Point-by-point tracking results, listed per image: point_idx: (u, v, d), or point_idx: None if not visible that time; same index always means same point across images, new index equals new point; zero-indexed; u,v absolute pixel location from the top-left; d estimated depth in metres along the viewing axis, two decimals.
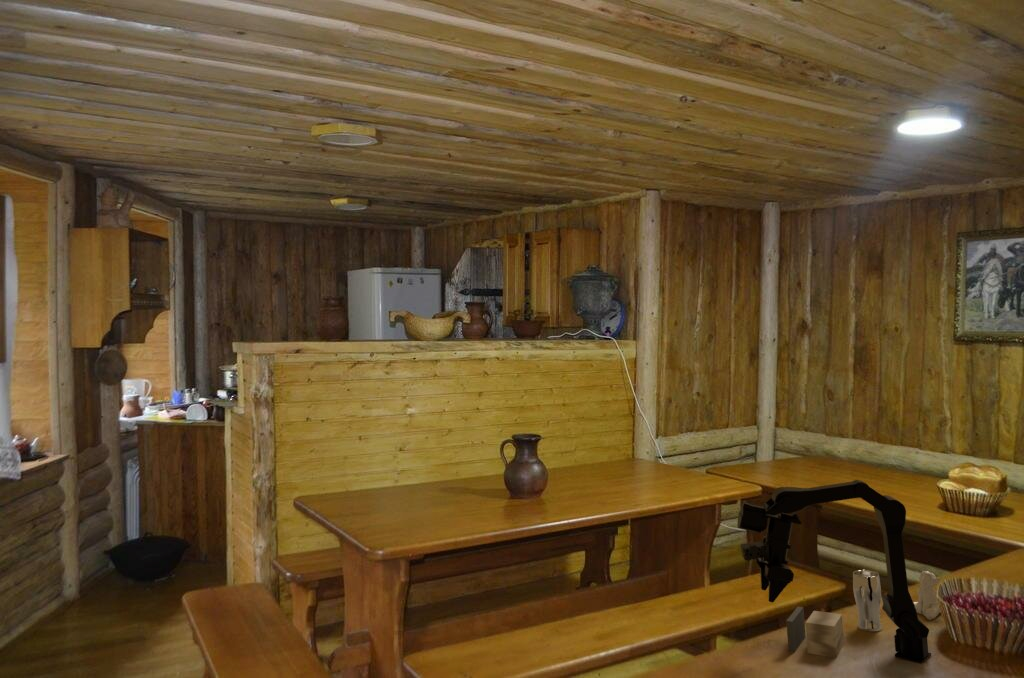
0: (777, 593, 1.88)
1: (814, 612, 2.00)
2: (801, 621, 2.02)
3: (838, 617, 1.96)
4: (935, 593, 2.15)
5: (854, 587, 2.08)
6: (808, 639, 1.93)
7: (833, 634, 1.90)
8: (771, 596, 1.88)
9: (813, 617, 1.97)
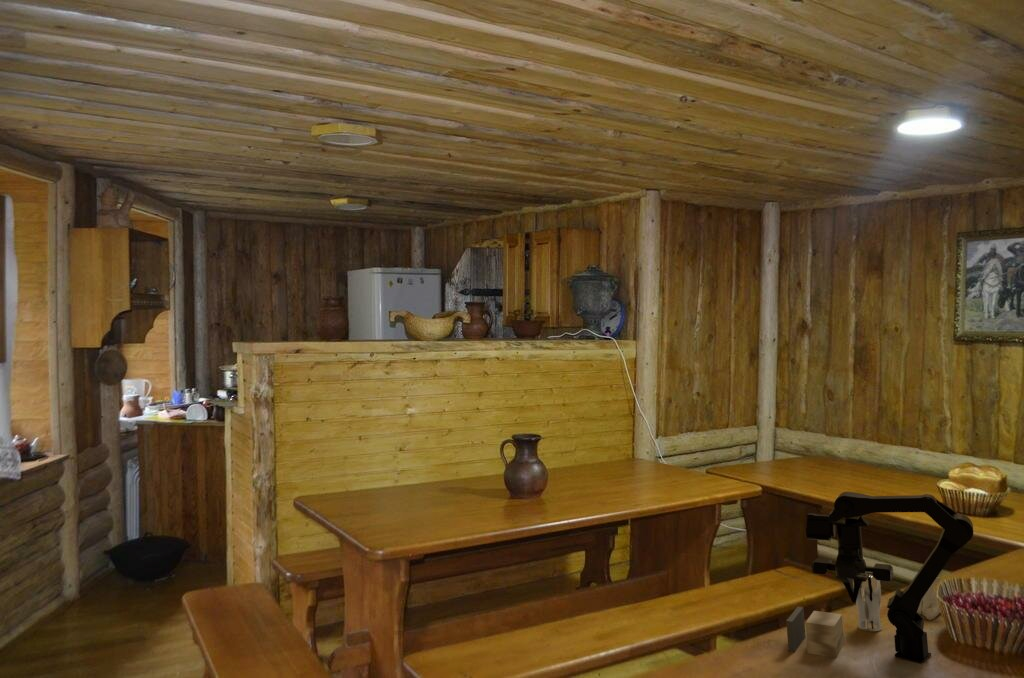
0: None
1: (814, 612, 2.00)
2: (801, 621, 2.02)
3: (838, 617, 1.96)
4: (935, 593, 2.15)
5: None
6: (808, 639, 1.93)
7: (833, 634, 1.90)
8: (857, 597, 1.94)
9: (813, 617, 1.97)
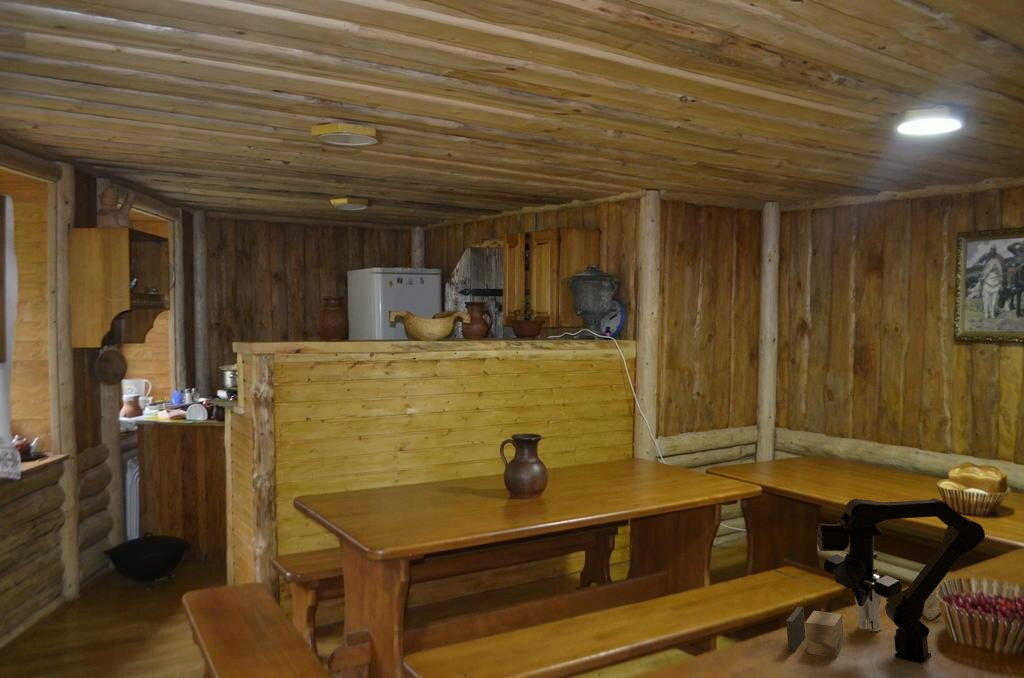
0: (867, 596, 1.92)
1: (814, 612, 2.00)
2: (801, 621, 2.02)
3: (838, 617, 1.96)
4: (935, 593, 2.15)
5: None
6: (808, 639, 1.93)
7: (833, 634, 1.90)
8: (863, 602, 1.92)
9: (813, 617, 1.97)
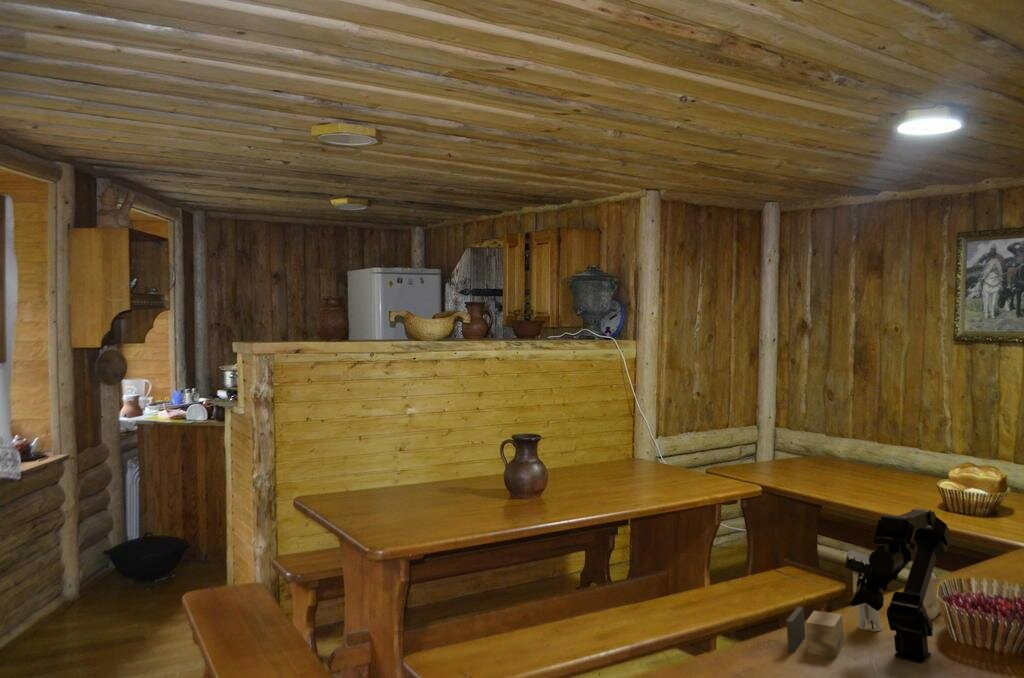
0: (861, 602, 1.90)
1: (814, 612, 2.00)
2: (801, 621, 2.02)
3: (838, 617, 1.96)
4: (935, 593, 2.15)
5: (854, 587, 2.08)
6: (808, 639, 1.93)
7: (833, 634, 1.90)
8: (854, 601, 1.91)
9: (813, 617, 1.97)
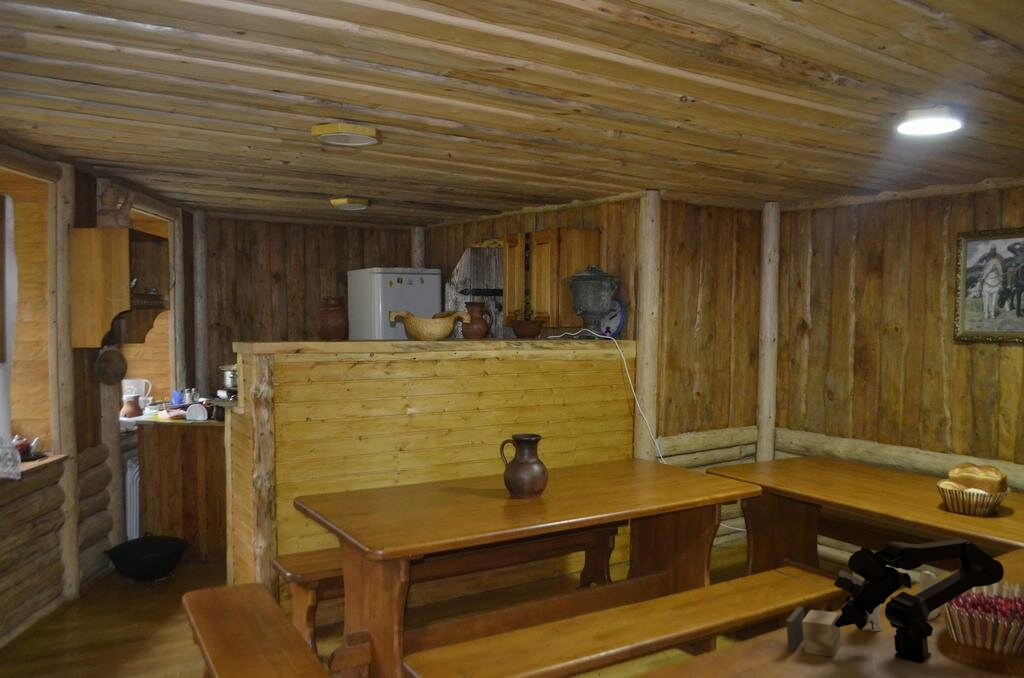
0: (845, 623, 1.91)
1: (811, 611, 2.01)
2: (801, 621, 2.02)
3: (834, 616, 1.96)
4: None
5: None
6: (805, 638, 1.94)
7: (830, 632, 1.90)
8: (838, 622, 1.92)
9: (810, 616, 1.97)
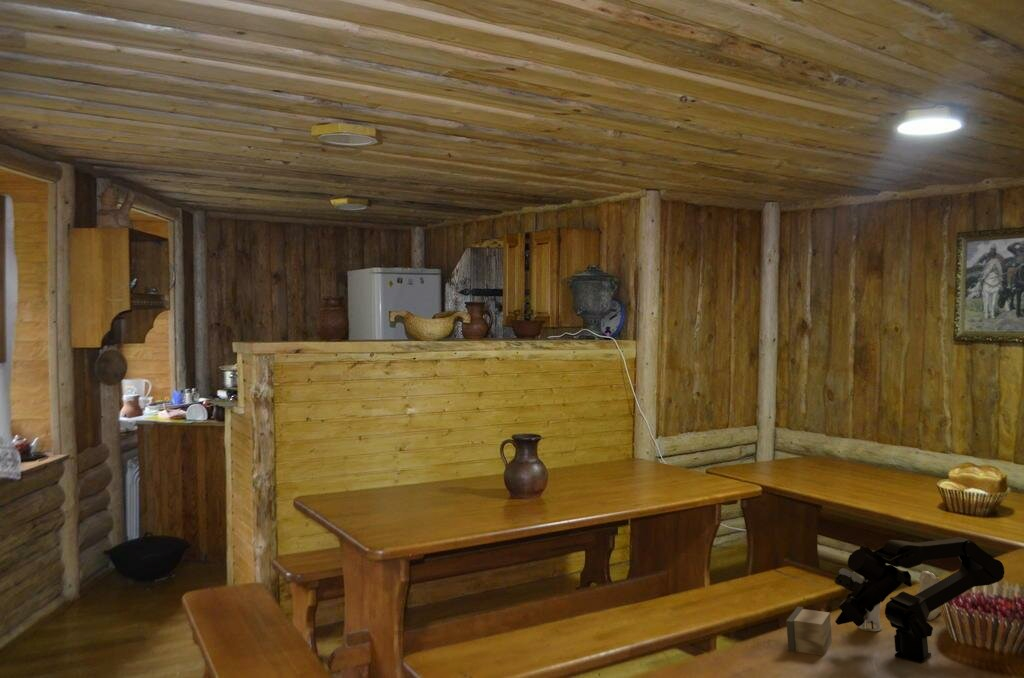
0: (845, 620, 1.92)
1: (802, 610, 2.02)
2: None
3: (826, 615, 1.97)
4: None
5: None
6: (796, 637, 1.95)
7: (821, 632, 1.92)
8: (839, 619, 1.93)
9: (801, 615, 1.98)
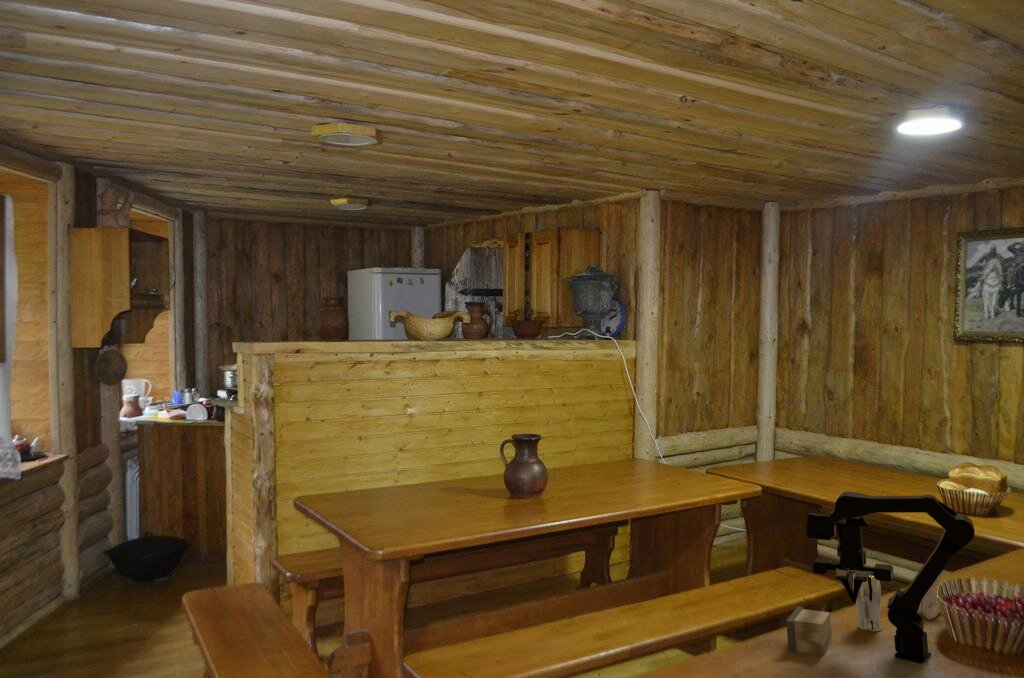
0: None
1: (803, 610, 2.02)
2: None
3: (826, 615, 1.97)
4: (935, 593, 2.15)
5: None
6: (796, 637, 1.95)
7: (821, 632, 1.92)
8: None
9: (801, 615, 1.98)
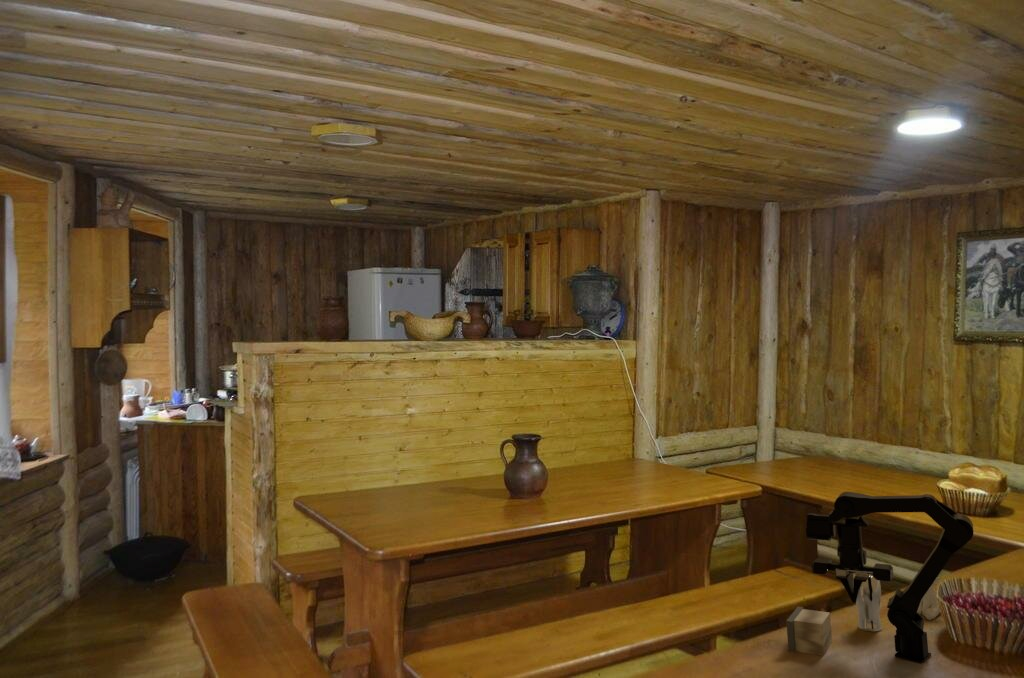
0: None
1: (803, 610, 2.02)
2: None
3: (826, 615, 1.97)
4: (935, 593, 2.15)
5: None
6: (796, 637, 1.95)
7: (821, 632, 1.92)
8: None
9: (801, 615, 1.98)
